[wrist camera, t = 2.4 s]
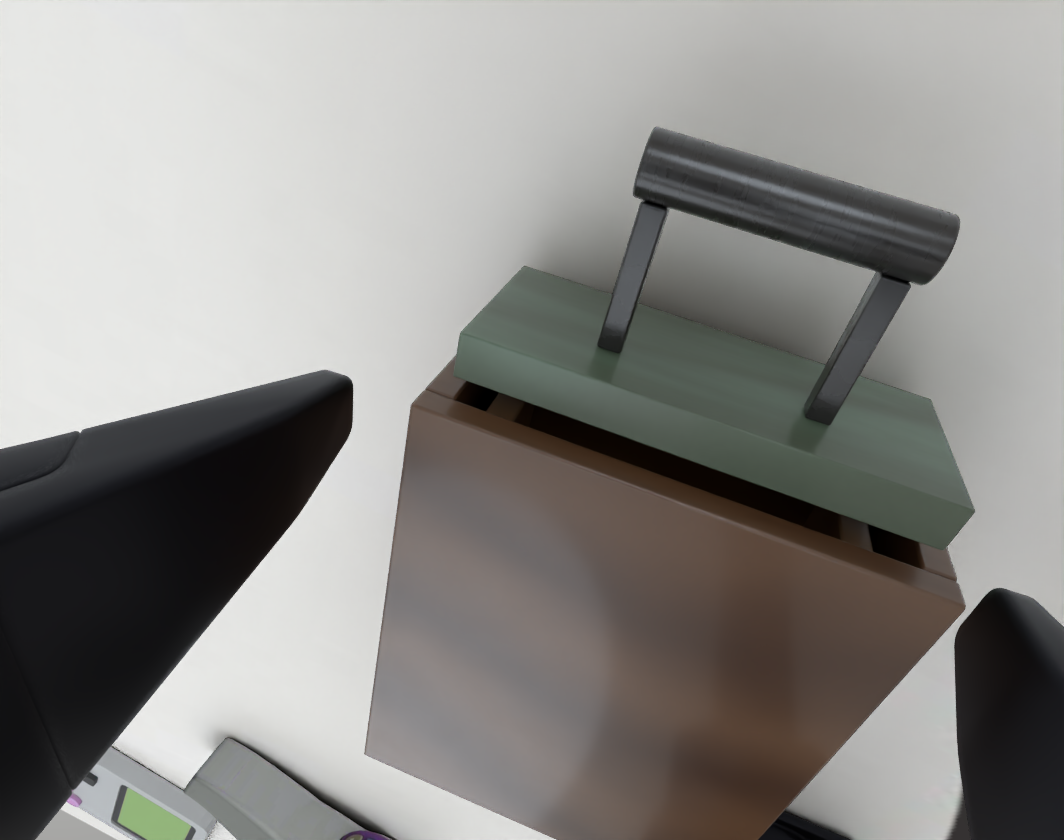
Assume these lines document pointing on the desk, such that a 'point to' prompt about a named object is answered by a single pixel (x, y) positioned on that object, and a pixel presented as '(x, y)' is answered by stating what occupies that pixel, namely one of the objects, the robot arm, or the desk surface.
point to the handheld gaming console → (140, 802)
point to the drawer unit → (624, 635)
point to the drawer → (737, 357)
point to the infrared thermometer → (265, 800)
